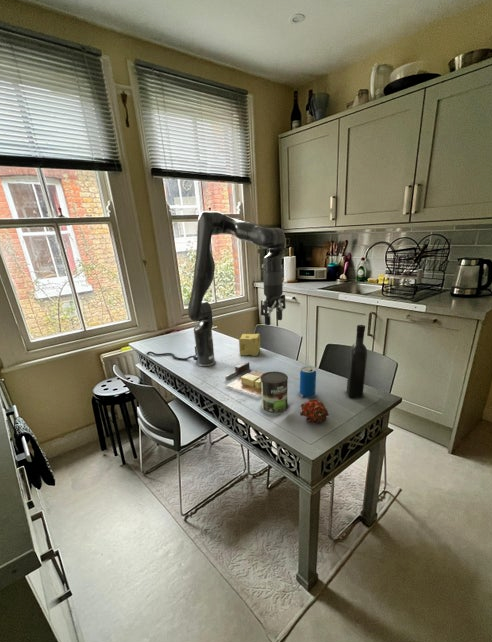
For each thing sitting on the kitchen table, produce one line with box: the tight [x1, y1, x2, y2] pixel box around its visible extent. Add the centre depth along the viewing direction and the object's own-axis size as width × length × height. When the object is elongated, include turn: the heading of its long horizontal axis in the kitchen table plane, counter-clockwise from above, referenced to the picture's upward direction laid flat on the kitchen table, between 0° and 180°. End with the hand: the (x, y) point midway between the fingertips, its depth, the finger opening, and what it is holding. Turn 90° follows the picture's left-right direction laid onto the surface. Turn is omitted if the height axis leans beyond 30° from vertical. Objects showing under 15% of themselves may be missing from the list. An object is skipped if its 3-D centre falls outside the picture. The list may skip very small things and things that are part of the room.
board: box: [226, 369, 265, 397], centre depth 144 cm, size 18×20×2 cm
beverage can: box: [299, 366, 317, 399], centre depth 131 cm, size 6×6×12 cm
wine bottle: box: [346, 324, 368, 399], centre depth 126 cm, size 6×6×30 cm
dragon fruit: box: [299, 399, 330, 424], centre depth 116 cm, size 8×8×12 cm
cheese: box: [238, 333, 261, 357], centre depth 180 cm, size 10×11×10 cm
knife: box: [225, 360, 251, 381], centre depth 152 cm, size 2×16×5 cm, turn 141°
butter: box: [240, 372, 259, 387], centre depth 143 cm, size 7×5×3 cm, turn 51°
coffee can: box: [261, 371, 289, 416], centre depth 122 cm, size 10×10×14 cm
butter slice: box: [255, 378, 261, 389], centre depth 139 cm, size 2×5×3 cm, turn 141°
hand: (273, 322), depth 132 cm, fingers open, 8 cm apart
